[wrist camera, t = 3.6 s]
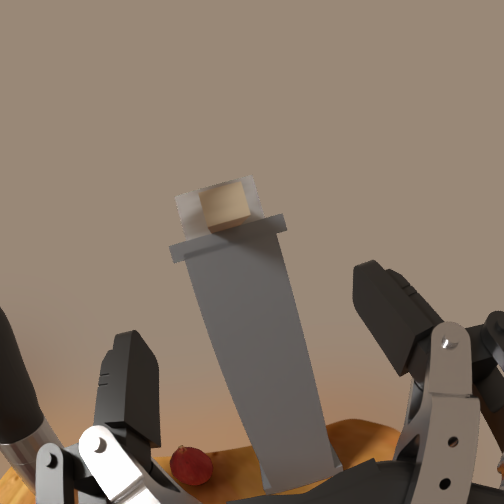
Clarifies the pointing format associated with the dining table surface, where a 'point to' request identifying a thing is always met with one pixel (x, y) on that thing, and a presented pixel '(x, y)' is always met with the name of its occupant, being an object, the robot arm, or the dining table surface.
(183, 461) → the onion
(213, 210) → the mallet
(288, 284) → the stand
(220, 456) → the dining table surface
